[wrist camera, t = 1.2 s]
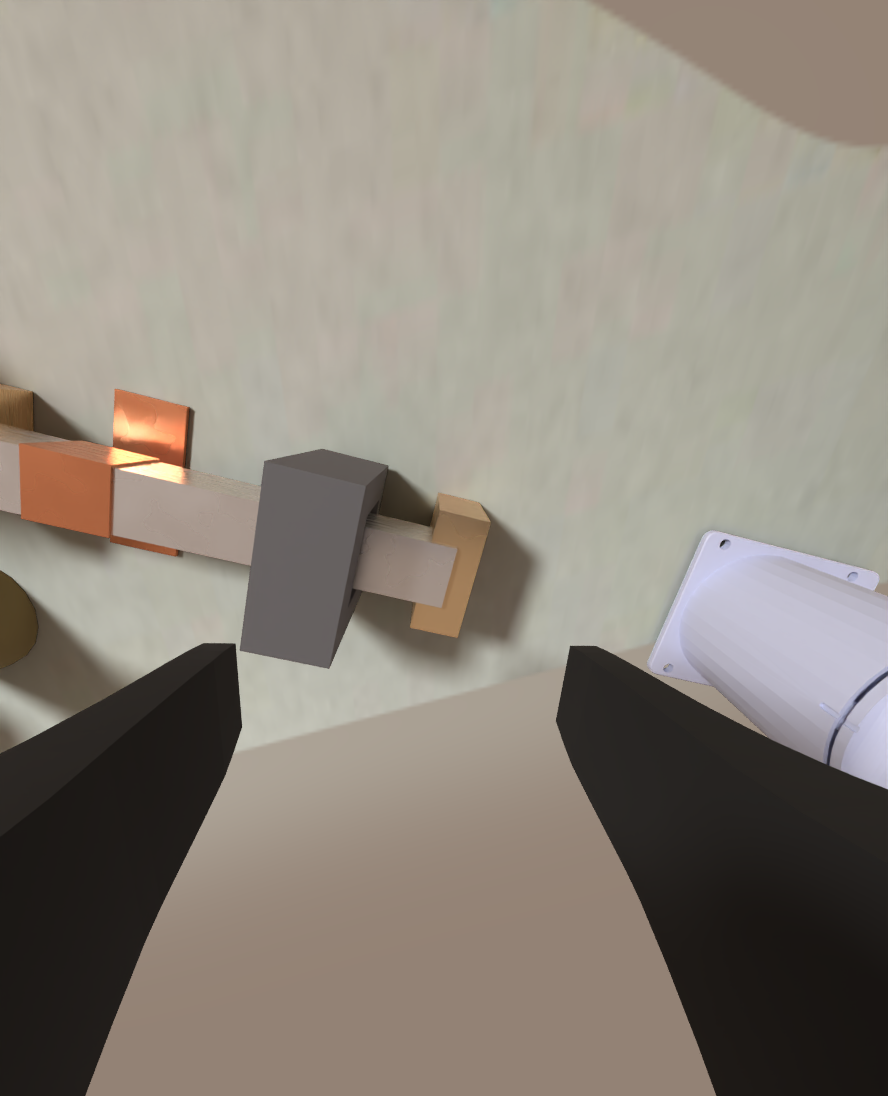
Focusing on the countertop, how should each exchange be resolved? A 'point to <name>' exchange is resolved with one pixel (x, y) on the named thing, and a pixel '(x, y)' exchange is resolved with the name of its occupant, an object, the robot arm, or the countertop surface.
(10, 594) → the brown pawn figure
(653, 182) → the countertop surface
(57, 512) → the rail
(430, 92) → the countertop surface
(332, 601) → the collar
